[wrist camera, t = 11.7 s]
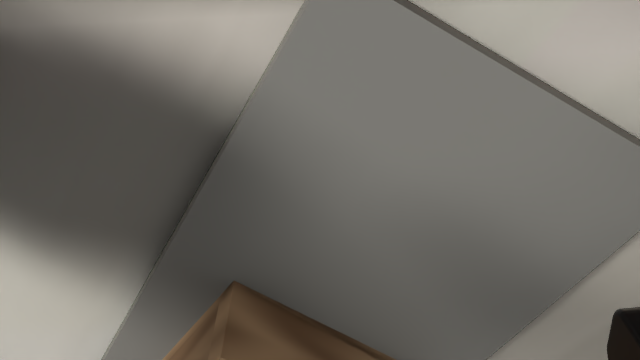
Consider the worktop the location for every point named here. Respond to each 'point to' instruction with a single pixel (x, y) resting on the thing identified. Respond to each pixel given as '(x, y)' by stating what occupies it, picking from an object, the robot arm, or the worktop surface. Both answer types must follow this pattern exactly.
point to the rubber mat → (395, 193)
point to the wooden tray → (264, 333)
